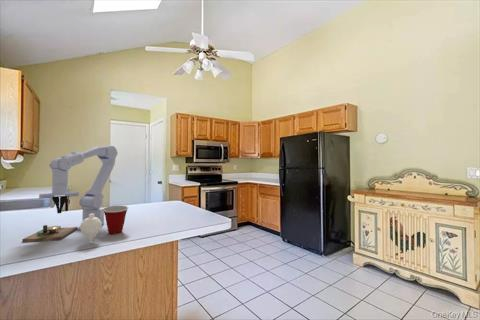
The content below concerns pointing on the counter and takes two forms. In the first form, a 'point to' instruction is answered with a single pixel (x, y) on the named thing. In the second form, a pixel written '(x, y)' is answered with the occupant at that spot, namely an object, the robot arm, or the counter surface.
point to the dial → (50, 228)
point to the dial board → (50, 235)
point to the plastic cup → (115, 218)
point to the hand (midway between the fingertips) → (59, 212)
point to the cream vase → (91, 227)
